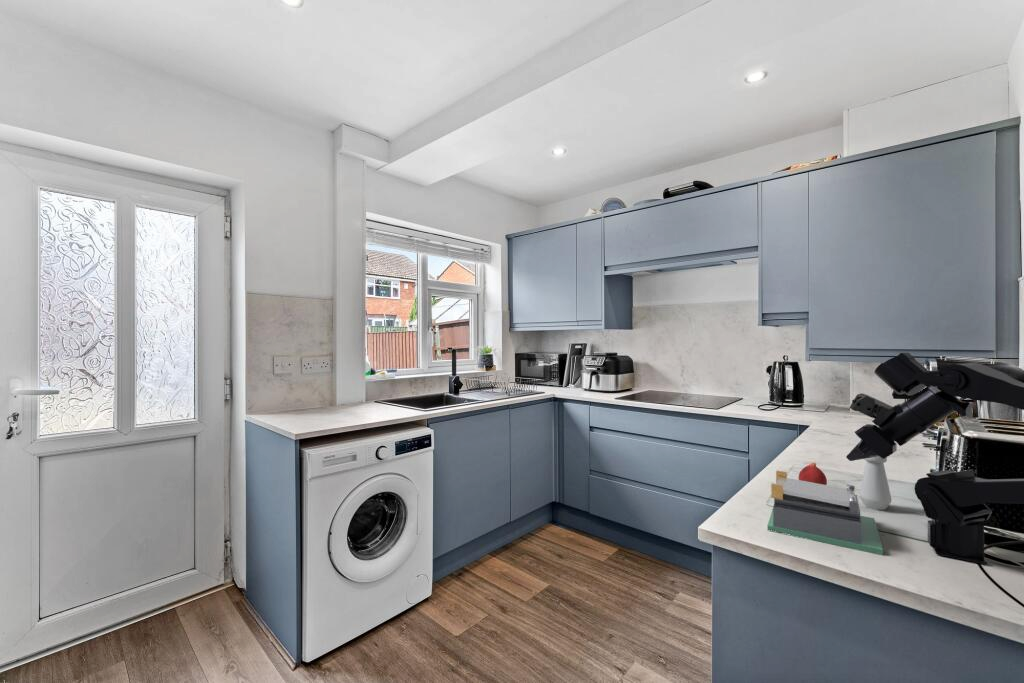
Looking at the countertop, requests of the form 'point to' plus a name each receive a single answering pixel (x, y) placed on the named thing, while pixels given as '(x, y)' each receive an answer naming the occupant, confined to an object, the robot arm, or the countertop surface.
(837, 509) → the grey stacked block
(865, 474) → the salt shaker
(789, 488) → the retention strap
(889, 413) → the robot arm
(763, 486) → the countertop surface
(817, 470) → the onion
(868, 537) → the processor board
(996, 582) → the countertop surface
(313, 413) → the countertop surface
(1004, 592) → the countertop surface
